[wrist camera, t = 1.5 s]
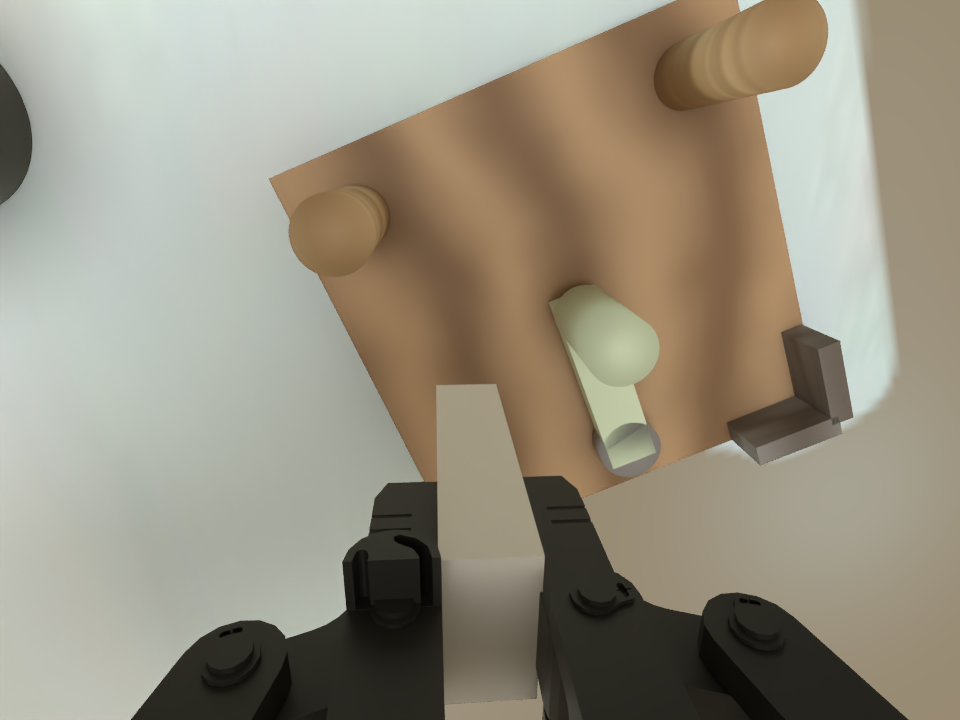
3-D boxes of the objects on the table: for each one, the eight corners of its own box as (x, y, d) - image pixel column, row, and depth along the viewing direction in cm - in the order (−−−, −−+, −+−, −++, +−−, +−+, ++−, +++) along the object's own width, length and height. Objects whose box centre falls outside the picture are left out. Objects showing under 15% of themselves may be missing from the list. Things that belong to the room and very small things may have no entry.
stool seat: (456, 525, 34) (465, 655, 25) (280, 177, 27) (203, 184, 18) (796, 392, 33) (934, 477, 24) (710, -11, 26) (862, -106, 17)
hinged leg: (656, 449, 31) (721, 530, 24) (602, 470, 31) (652, 557, 24) (596, 267, 27) (653, 302, 20) (536, 292, 27) (571, 335, 20)
